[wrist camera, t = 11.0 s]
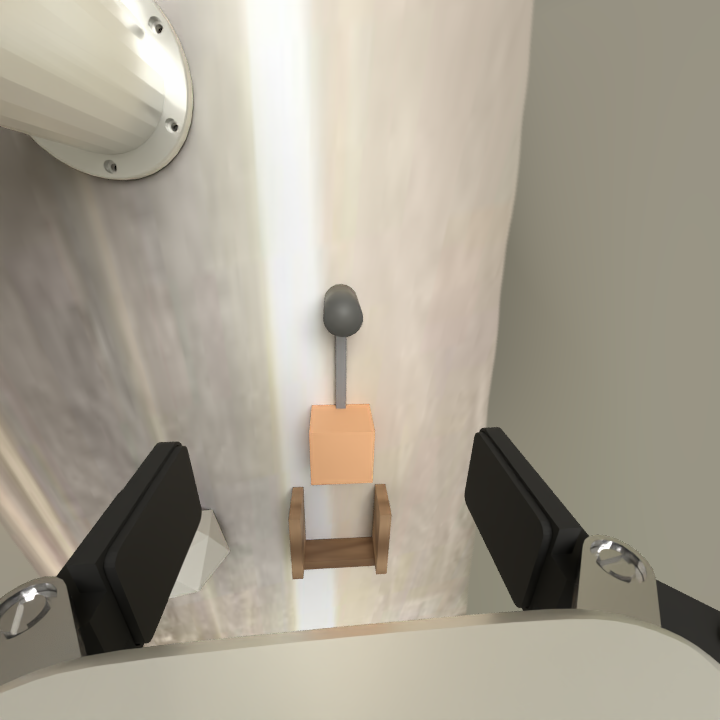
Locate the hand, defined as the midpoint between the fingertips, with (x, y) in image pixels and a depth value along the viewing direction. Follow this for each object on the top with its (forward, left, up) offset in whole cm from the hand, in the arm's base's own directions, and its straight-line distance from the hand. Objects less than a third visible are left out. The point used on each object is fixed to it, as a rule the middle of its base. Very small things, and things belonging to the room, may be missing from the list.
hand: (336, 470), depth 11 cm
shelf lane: (+26, +1, -22) cm, 34 cm away
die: (+26, -16, -22) cm, 38 cm away
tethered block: (+7, +1, -22) cm, 23 cm away
